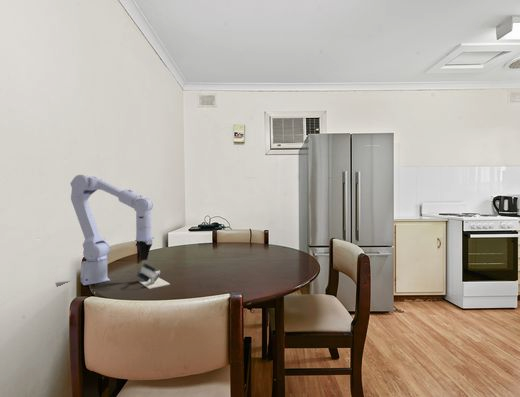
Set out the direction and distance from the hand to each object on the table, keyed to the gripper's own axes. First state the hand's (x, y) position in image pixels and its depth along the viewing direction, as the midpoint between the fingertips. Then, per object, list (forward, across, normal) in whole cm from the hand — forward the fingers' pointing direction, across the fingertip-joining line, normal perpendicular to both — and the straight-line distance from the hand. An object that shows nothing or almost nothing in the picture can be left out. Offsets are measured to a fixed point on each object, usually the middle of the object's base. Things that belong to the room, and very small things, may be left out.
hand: (144, 259), depth 116 cm
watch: (+5, 0, 0) cm, 5 cm away
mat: (+8, -8, -2) cm, 11 cm away
